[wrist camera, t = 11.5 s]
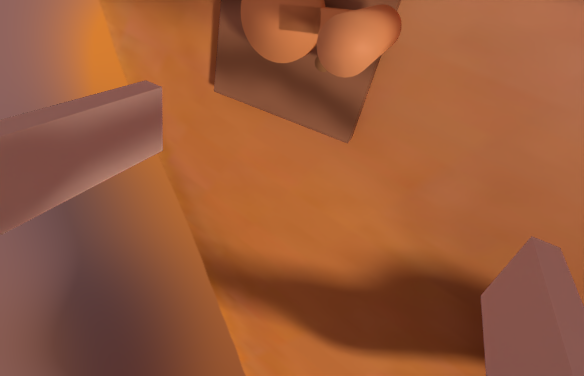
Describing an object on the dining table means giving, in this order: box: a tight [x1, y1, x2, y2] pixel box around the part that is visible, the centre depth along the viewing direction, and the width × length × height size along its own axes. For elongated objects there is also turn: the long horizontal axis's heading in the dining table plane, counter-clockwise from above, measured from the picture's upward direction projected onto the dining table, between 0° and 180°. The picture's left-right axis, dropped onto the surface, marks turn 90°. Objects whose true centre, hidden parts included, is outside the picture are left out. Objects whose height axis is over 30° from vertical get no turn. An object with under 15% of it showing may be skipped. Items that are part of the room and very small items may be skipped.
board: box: [214, 0, 401, 143], centre depth 29 cm, size 20×16×6 cm
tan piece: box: [241, 0, 401, 78], centre depth 22 cm, size 13×7×11 cm, turn 86°
